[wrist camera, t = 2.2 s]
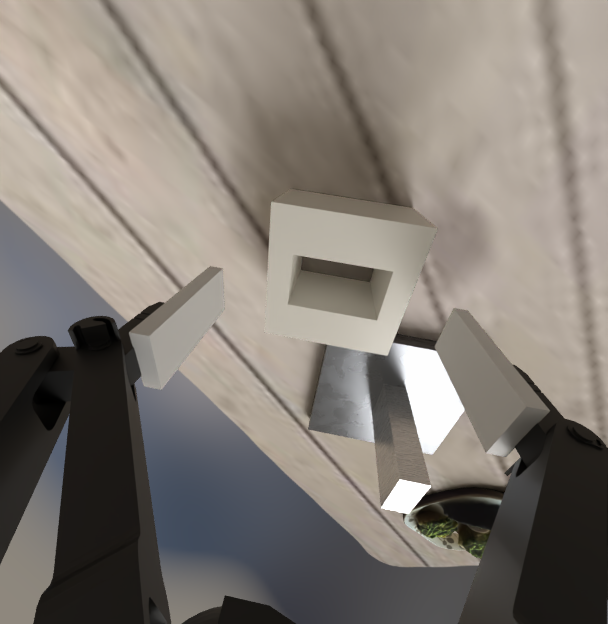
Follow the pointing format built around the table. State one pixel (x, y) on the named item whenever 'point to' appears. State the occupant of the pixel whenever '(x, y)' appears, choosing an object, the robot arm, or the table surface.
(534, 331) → the table surface
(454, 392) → the shaft base
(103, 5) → the table surface
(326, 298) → the square block with hole
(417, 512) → the salad plate
